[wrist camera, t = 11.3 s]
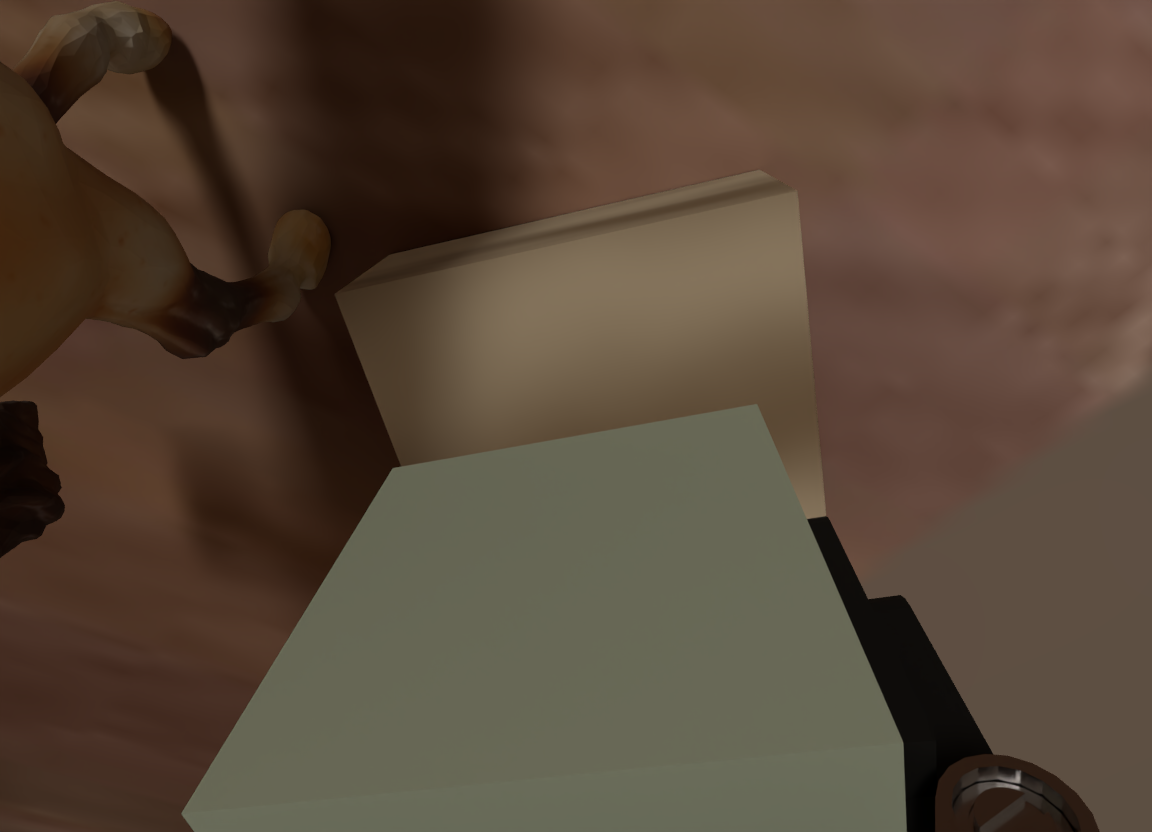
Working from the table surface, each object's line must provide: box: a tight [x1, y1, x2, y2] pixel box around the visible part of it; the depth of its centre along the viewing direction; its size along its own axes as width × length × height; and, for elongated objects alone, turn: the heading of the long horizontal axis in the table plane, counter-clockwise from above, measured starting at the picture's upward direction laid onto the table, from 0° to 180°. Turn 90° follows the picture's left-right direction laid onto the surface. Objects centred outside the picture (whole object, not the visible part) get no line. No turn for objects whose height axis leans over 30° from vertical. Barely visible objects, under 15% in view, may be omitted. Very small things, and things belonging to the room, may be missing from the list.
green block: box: [181, 404, 907, 832], centre depth 9 cm, size 6×6×6 cm
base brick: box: [334, 170, 826, 519], centre depth 18 cm, size 10×10×4 cm
